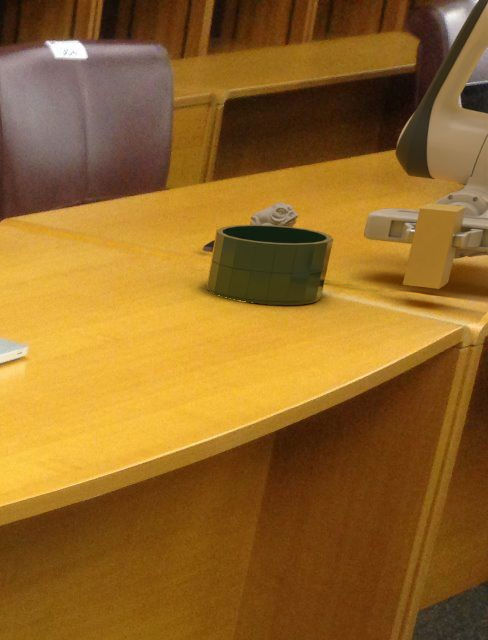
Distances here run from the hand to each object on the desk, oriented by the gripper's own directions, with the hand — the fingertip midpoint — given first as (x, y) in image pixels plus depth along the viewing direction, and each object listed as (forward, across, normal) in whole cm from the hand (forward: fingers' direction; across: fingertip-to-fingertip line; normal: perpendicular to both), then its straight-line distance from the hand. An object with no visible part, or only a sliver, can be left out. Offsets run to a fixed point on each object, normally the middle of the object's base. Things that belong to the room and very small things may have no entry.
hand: (434, 238), depth 202 cm
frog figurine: (-26, -28, +8) cm, 39 cm away
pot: (+8, -18, +8) cm, 22 cm away
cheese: (-1, 0, +6) cm, 6 cm away
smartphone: (-18, -27, +8) cm, 34 cm away
